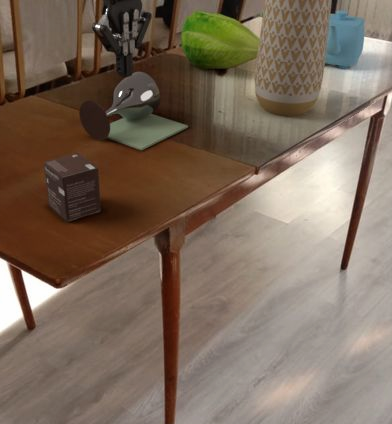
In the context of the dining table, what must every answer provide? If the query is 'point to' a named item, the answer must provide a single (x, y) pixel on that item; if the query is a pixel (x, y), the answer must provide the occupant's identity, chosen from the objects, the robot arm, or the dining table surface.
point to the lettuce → (217, 41)
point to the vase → (291, 55)
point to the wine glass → (122, 104)
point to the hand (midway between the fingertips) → (124, 75)
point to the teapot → (344, 39)
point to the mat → (143, 131)
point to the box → (72, 186)
